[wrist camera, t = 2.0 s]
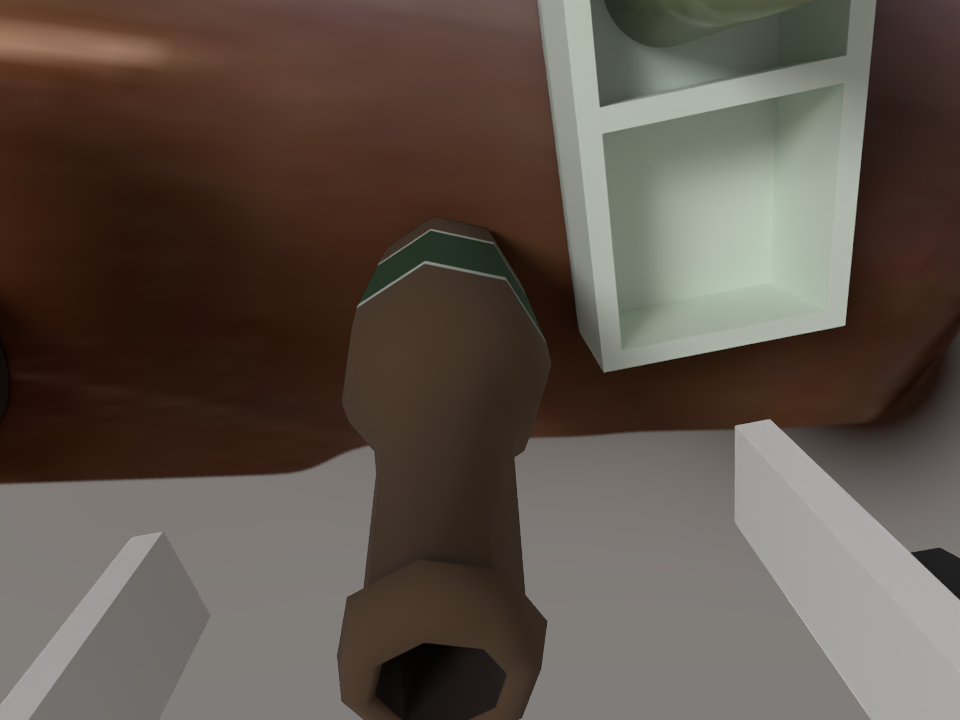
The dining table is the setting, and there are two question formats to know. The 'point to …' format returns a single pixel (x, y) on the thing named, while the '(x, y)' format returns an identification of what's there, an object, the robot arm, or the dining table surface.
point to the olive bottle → (688, 17)
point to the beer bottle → (443, 482)
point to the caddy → (708, 176)
